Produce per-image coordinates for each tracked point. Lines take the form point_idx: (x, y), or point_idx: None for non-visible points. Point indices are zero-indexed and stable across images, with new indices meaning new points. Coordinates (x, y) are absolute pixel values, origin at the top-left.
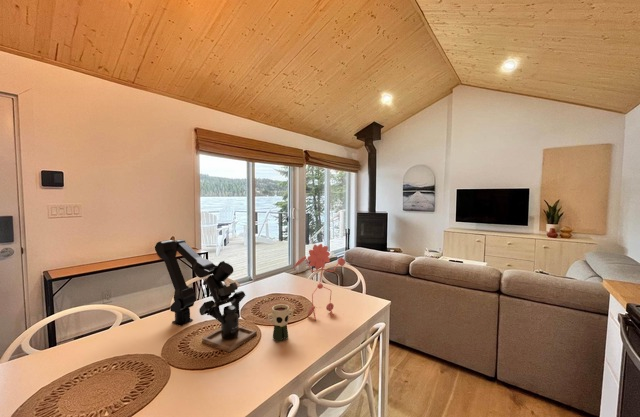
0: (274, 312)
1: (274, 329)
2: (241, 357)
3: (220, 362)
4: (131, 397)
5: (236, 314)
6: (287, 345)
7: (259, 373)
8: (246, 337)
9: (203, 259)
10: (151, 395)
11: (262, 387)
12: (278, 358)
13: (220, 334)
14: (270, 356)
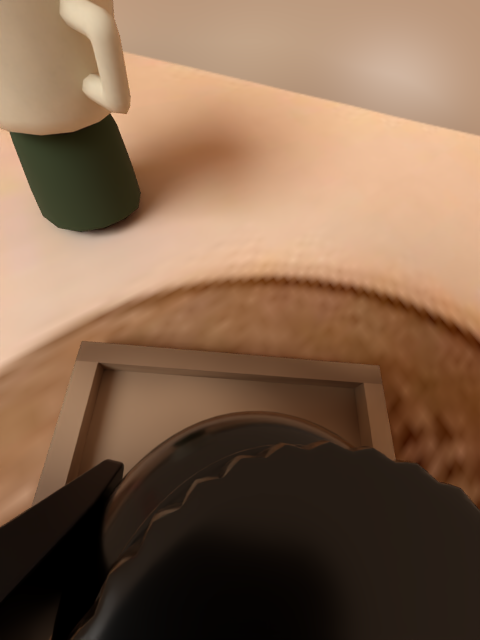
0: None
1: (107, 161)
2: (354, 286)
3: (455, 355)
4: None
5: (207, 447)
6: (152, 157)
7: (380, 175)
8: (203, 355)
9: None
10: None
11: (420, 144)
12: (265, 156)
13: None
14: (270, 184)
